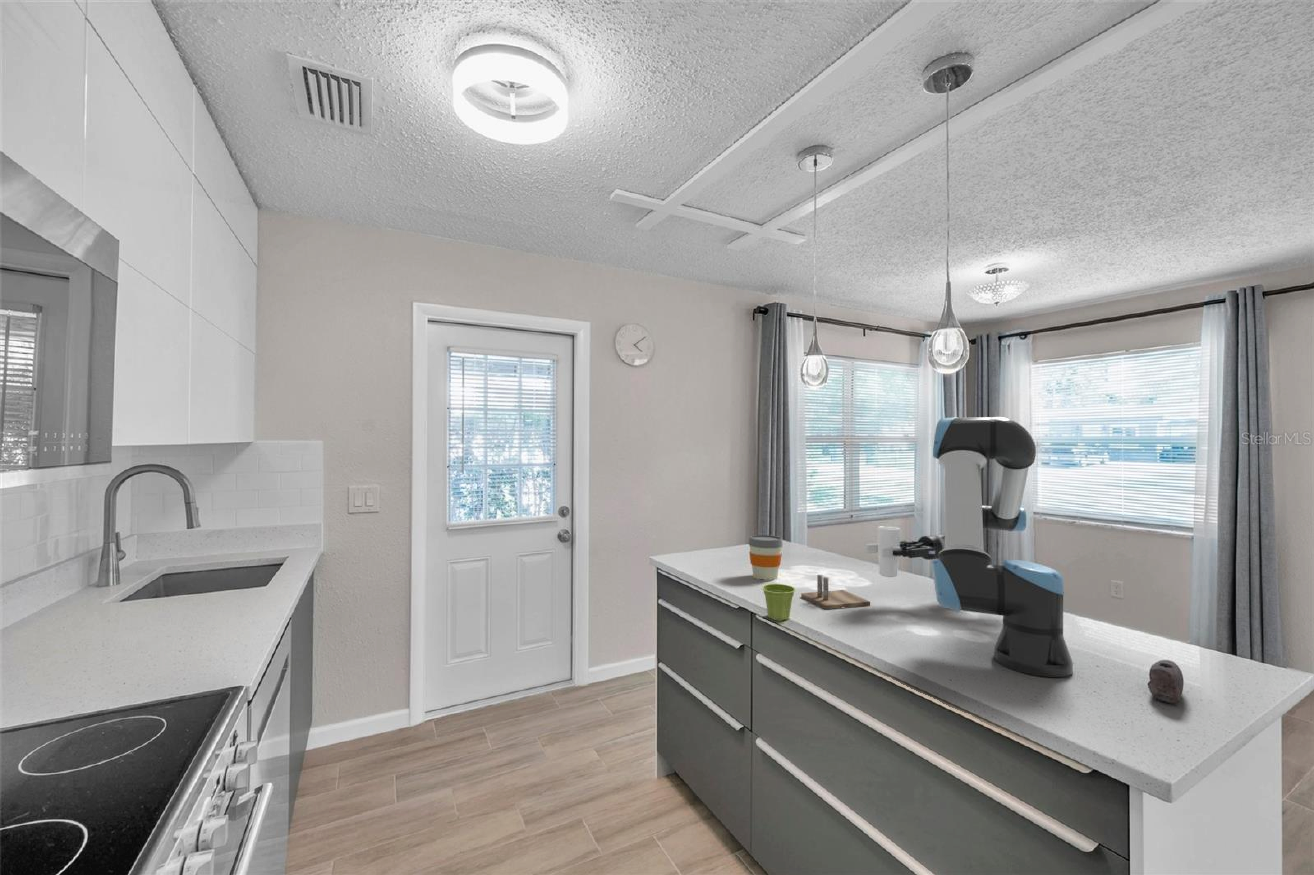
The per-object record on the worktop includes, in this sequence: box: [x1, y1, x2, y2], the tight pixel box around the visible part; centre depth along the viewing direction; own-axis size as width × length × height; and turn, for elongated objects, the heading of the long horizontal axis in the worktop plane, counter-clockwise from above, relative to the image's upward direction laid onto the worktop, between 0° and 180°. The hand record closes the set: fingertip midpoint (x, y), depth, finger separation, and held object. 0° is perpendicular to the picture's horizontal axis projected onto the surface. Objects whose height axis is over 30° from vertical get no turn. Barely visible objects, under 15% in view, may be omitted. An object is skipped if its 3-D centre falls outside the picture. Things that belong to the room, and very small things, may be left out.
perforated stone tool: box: [1147, 659, 1185, 704], centre depth 113 cm, size 15×5×7 cm, turn 132°
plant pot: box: [761, 583, 796, 622], centre depth 160 cm, size 9×9×9 cm
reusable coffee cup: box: [748, 534, 783, 581], centre depth 207 cm, size 13×13×15 cm
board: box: [800, 574, 871, 610], centre depth 177 cm, size 16×14×8 cm
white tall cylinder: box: [876, 525, 901, 578], centre depth 172 cm, size 7×7×15 cm
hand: (875, 550), depth 170 cm, fingers closed on white tall cylinder, 6 cm apart
